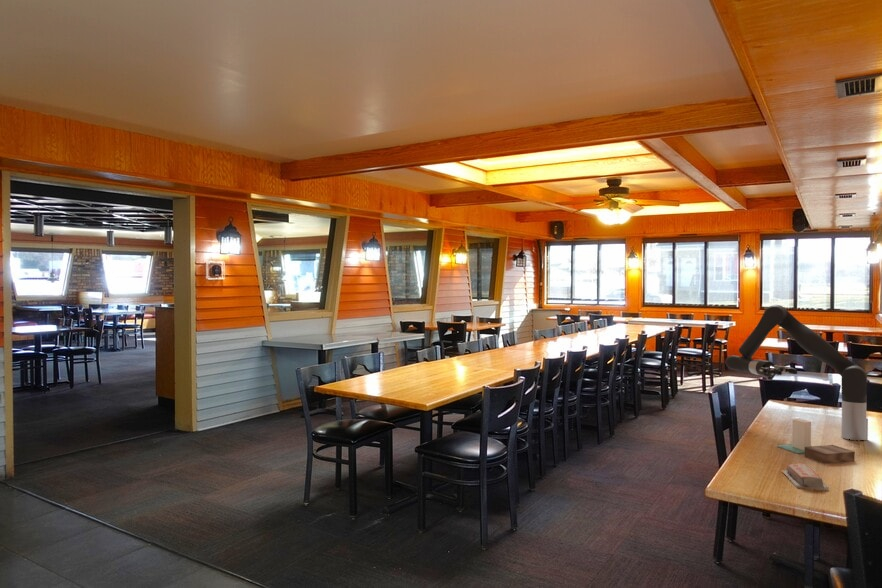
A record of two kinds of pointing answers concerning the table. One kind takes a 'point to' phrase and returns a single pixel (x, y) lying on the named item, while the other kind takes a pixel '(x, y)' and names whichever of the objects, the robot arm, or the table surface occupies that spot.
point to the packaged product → (804, 477)
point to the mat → (792, 449)
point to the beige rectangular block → (801, 433)
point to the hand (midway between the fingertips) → (789, 372)
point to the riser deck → (829, 454)
